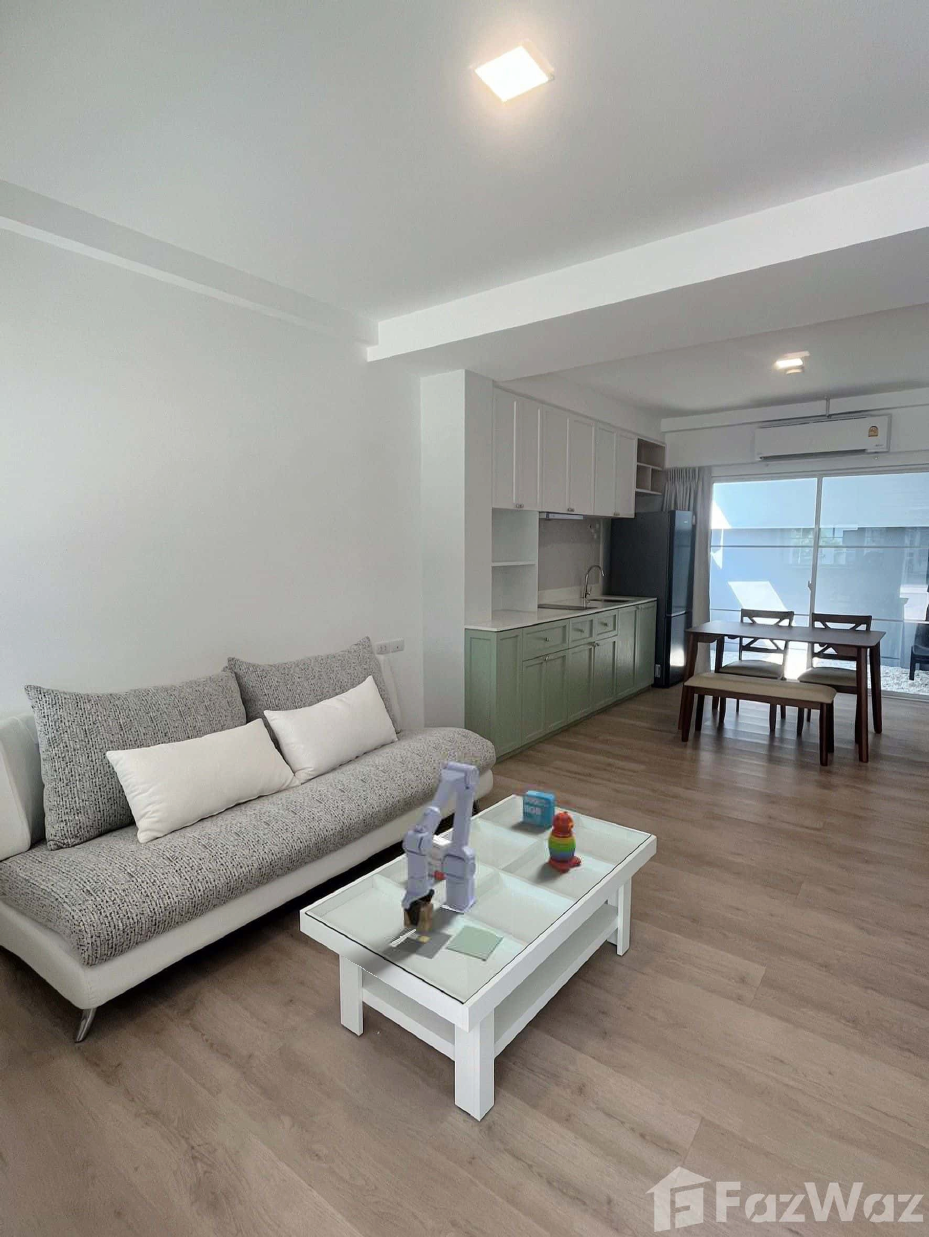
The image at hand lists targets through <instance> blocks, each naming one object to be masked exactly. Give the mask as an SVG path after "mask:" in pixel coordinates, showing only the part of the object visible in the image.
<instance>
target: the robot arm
mask: <svg viewBox="0 0 929 1237" xmlns="http://www.w3.org/2000/svg"><path fill="white" fill-rule="evenodd" d="M479 775H480V771H479V770H478V769H477V766H476V765H469V764H465V763H459V762H455V761H452V760H448V761H446V762H445V763H444V765H442V767H441V771H440V783H439V785H438V788H437V790H436V792H435V795H434V796H433V799H432V802H430V803H431V804H430V805H429V806H426V807H424V808H423V810H422V812H421V813H420V815H419V817H418V819H417V821H416V822H415V825H414V826H413V828H412V829H411V830H409V831H407V832H406V833H405V835H404V837H403V842H402V845H401V846H402V848H403V850H404V851H405V852H404V853H405V857H406V858H407V863H406V864H407V884H406V885H405V886H404V890H405V894H404V897H403V898H402V899H401V908H403V909H404V908H405V910H406V912H407V914H408V918H409V921H410V924H411V925H413V926H417V925H418V922H419V913H420V909H421V906H422V904H421V903H417V901H416V900H417V899H418V900H422V901H426V902H429V903H432V902H431V901H432V898H433V897H434V895H435V889H434V888H431V887H432V886H434V885H435V877H433V876H432V877H431V876H429V873H428V853H429V851H430V850H431V848H432V843H433V839H434V835H435V833H436V830H437V829H438V827H439V824H440V823H441V821H442V818H443V816H442V811H443V810H444V808H445V806H446V805H447V803H448V802H449V801H450V799H451V798H452V796H453V794H454V792H456V800H455V809H454V817H453V825H452V834H451V840H450V841H451V845H450V846H448V847H446V848H445V849H444V850H443V855H442V858H441V861H440V870H441V872H442V873H443V874H444V877H445V896H446V897H445V901H444V902H443V904H442V905H447V906H449V907H450V908H452V909H455V910H459V911H461V912H463V911H464V912H463V913H465V912H467V911H469V910H470V908H471V907H472V906H473V904H475V902H477V901H478V897H475V878H474V875H475V873H476V868H477V865H476V853H474V851H473V850H472V849H471V848H470V846H469V838H470V832H471V822H472V814H473V807H474V806H473V805H474V797H475V792H477V791H478V785H479ZM465 914H466V913H465Z"/></svg>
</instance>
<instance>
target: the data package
mask: <svg viewBox="0 0 929 1237" xmlns="http://www.w3.org/2000/svg"><path fill="white" fill-rule="evenodd" d="M555 815H556V797H555V795H553V794H551V793H546V792H541V791H535V790H530V789H529V790H528V791H527V792H525V793H524V794H523V795H522V820H523V822H524V823H526V824H529V825H530V824H531V825H533V824H534V825H535V826H538V827H539V826H540V827H543V826H545V827H544V828H550V827H551V826H553V817H554V816H555ZM534 825H533V826H534Z"/></svg>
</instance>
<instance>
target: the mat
mask: <svg viewBox="0 0 929 1237" xmlns="http://www.w3.org/2000/svg"><path fill="white" fill-rule="evenodd" d="M491 932H492V931H489V930H486V929H482V928H479V927H474V926H470V925H467V924H464V926H463V927H462V928H461V930H460V931H459V932H458V933H457V934H456V935H455V936H454V937H453V938H452V939H451V941H450V942H449V943H448V944H447V945H446V946H445V949H447V950H450V951H455V952H458V953H461V954H464V955H468V956H470V957H474V958H478V959H480V960H482V961H487V960H488V958H489V957H490V956H491V955H492V953H493V952H494V950H495V949H496V948H497V947H498V945H499V944H500V943H501V941H502V940H503V939H502V938H501V937H498V936H496V935H495V934H493V933H494V932H493V933H491ZM501 939H502V940H501Z"/></svg>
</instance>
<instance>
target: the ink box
mask: <svg viewBox="0 0 929 1237" xmlns="http://www.w3.org/2000/svg"><path fill="white" fill-rule="evenodd" d="M433 835H434V839H433V843H432V848H431V850H430V851H429V853H428V875H431V876H432V877H434V878H437V879H439V880H442V881H444V880H446V878H445V877H444V874H443V873H442V872H441V870H440V861H441V858H442V855H443V850H444V849H445V848H446V847H448V846H450V845H451V840H448V839H446V838H443V837H441V836H438V835H436V834H433Z"/></svg>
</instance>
